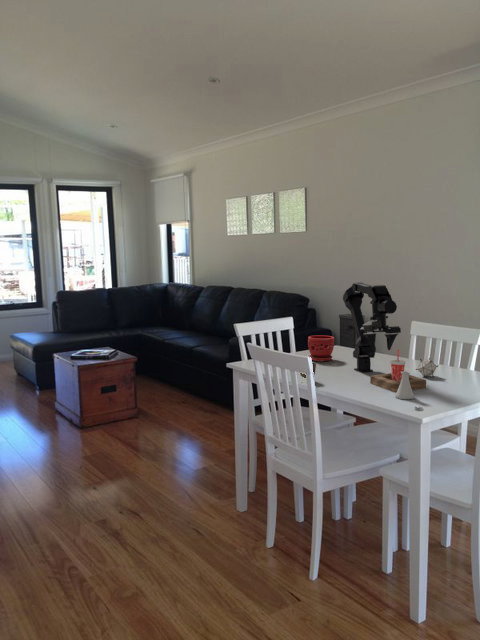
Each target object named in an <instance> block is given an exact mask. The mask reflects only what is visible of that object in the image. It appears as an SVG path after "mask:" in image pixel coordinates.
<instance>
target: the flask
mask: <svg viewBox="0 0 480 640" xmlns="http://www.w3.org/2000/svg"><path fill="white" fill-rule="evenodd" d="M401 373H402V379H401V383H400V386H399V388H398V391H397V392H395V398H397V399H398V400H413V399H415V395H414V392H413V390H412V389H411V386H410V382H409V375H411V373H410V371H407V370H406V371H405V370H404V371H403V372H401Z"/></svg>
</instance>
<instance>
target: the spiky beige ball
mask: <svg viewBox="0 0 480 640" xmlns="http://www.w3.org/2000/svg"><path fill="white" fill-rule="evenodd" d="M419 360H420V362H419V363H418V366H417V368H415V371H418V372H420V374H421V375H422V376H423V378H425V377H428V376H429V377H430V376H432V377H435V376H434V374H435V371H436V369H437V368H438V367H439V365H436V364H435V363H434V362H433V361H432V360H431V358H430V357H429V358H428V359H422V358H420V359H419Z"/></svg>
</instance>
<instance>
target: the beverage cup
mask: <svg viewBox="0 0 480 640" xmlns="http://www.w3.org/2000/svg"><path fill="white" fill-rule="evenodd" d="M399 351H400V349H397V357H396V358H397V359H391V360H390V368H391V373H392V381H395V382H397V381H401V379H402V373H401V372H403V371H405V367H406V366H405V365H406V363H407V362H406V360H401V359H399V358H400V357H399V356H400V354H399Z"/></svg>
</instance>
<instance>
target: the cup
mask: <svg viewBox="0 0 480 640" xmlns="http://www.w3.org/2000/svg"><path fill="white" fill-rule="evenodd" d="M312 364H313V372H314V376H315V374H316V367H317V363H316V362H312ZM299 374H300V376H301V377H302V378H303V377H304V378H306V375H305V374H302V373H300V372H299Z"/></svg>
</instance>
